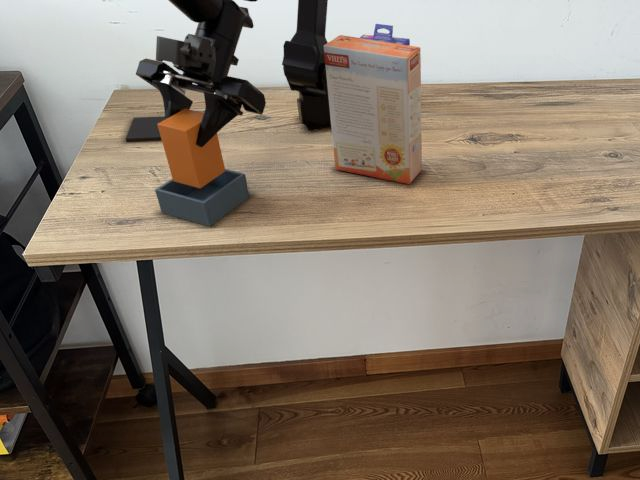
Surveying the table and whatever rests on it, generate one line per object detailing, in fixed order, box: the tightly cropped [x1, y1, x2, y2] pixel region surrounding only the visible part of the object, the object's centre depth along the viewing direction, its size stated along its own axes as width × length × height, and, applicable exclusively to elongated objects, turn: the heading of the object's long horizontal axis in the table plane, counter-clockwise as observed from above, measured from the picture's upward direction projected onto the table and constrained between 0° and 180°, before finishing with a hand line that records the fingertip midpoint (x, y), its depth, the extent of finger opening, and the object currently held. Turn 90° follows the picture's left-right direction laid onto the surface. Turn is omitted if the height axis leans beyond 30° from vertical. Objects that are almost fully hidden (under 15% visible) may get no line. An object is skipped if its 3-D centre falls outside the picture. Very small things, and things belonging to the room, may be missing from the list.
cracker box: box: [324, 34, 423, 185], centre depth 111 cm, size 14×6×21 cm, turn 71°
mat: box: [125, 115, 165, 143], centre depth 126 cm, size 11×9×1 cm
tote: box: [154, 168, 250, 227], centre depth 106 cm, size 10×9×4 cm
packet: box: [157, 108, 226, 188], centre depth 101 cm, size 6×5×9 cm
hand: (183, 142), depth 99 cm, fingers closed on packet, 5 cm apart
